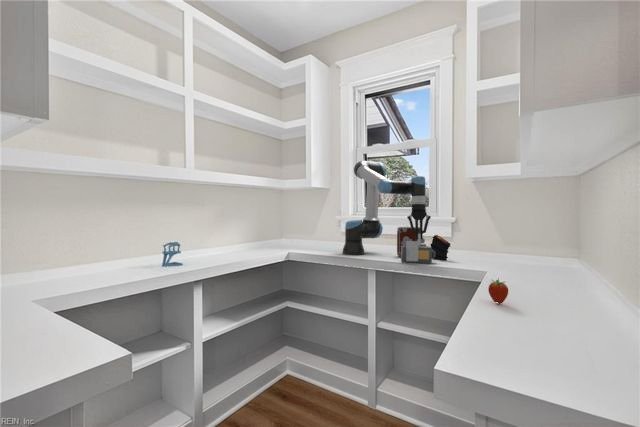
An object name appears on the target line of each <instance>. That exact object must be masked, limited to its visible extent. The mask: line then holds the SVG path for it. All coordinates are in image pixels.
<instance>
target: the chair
mask: <svg viewBox="0 0 640 427" xmlns="http://www.w3.org/2000/svg"><path fill="white" fill-rule="evenodd" d="M162 246H163V251H162V254H163V260H162V264H161V266H162V267H174V266H175V267H176V266H183V265H184V263H182V262H179V261H173V262H172V261H171V259H172V258H173V257H174V255H178V254H181V253H182V251H181V250H180V249H181V248H180V247H181V244H180V243H179V242H178V241H175V242H167V243H166V244H163V245H162ZM166 246H167V247H168V251H167V248H166ZM175 247H177V250H175V249H176V248H175ZM171 248H172V249H171Z"/></svg>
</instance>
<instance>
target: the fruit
mask: <svg viewBox="0 0 640 427" xmlns="http://www.w3.org/2000/svg"><path fill="white" fill-rule="evenodd" d="M499 279H500V278H499V277H498V278H497V279H496V280H493V279H491V282H490V284H489V285H488V293H489V294H488V295H489V296H490V297H491V299H492V300H493V302H494V303H495V302H498V303H501V304H503V303H504V302H505V301H506V299H507V297H508V295H509V287H508V286H507V284H505V281H502V282H500V280H499Z"/></svg>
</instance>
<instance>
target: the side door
mask: <svg viewBox="0 0 640 427" xmlns="http://www.w3.org/2000/svg"><path fill="white" fill-rule="evenodd" d="M406 261H418V241H406Z"/></svg>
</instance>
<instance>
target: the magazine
mask: <svg viewBox="0 0 640 427" xmlns="http://www.w3.org/2000/svg"><path fill="white" fill-rule="evenodd" d="M430 247H431V248H432V250H434V251H435V257H434V259H433V258H432V260H436V261H444V262H446V261H447V260H448V258H449V257H448V253H449V248H451V242H449V241H447V240H446V239H444V238H443V237H442V236H440V235H438V234H434V236H432V241H431V243H430Z"/></svg>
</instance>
